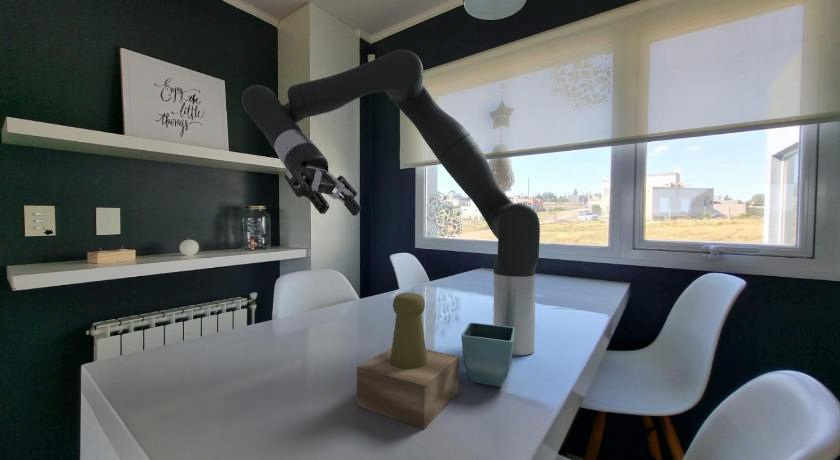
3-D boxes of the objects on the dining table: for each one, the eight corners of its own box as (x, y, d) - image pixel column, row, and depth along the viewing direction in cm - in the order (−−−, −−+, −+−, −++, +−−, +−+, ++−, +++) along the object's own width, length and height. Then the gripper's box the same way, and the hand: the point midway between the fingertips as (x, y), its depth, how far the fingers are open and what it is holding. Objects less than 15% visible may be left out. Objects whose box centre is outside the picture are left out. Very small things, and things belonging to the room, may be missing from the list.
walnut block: (399, 375, 62) (399, 343, 61) (458, 391, 56) (458, 356, 56) (356, 405, 51) (357, 366, 51) (424, 429, 45) (424, 385, 45)
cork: (423, 370, 50) (423, 298, 50) (385, 367, 51) (385, 296, 51) (430, 355, 56) (430, 290, 56) (395, 352, 57) (396, 289, 57)
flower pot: (515, 373, 63) (515, 326, 63) (512, 395, 55) (512, 341, 55) (469, 366, 66) (469, 321, 66) (460, 386, 57) (460, 335, 57)
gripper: (279, 133, 60) (324, 193, 54) (335, 149, 72) (377, 200, 67) (261, 165, 63) (302, 225, 57) (318, 175, 75) (356, 226, 69)
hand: (342, 211), depth 62 cm, fingers open, 8 cm apart
